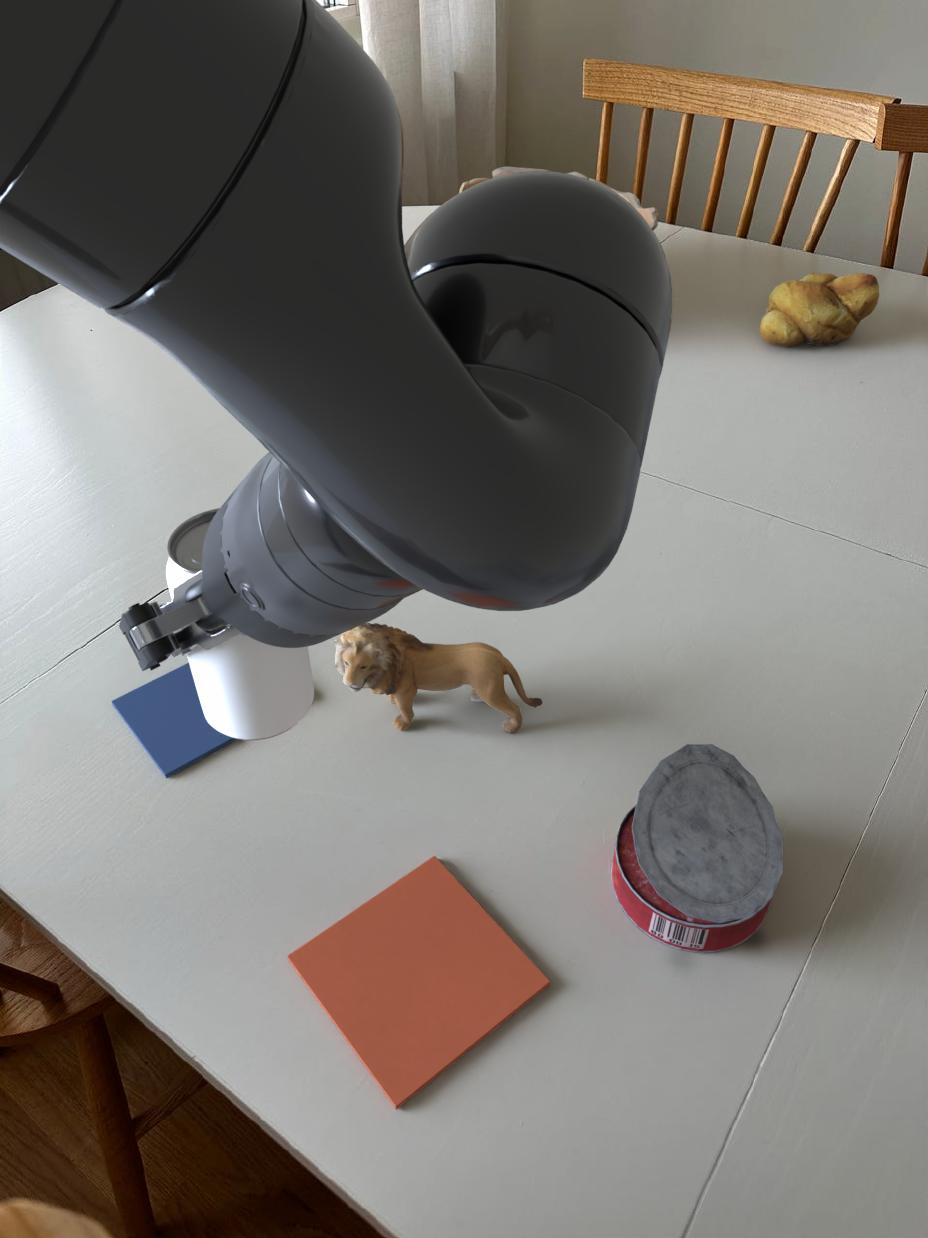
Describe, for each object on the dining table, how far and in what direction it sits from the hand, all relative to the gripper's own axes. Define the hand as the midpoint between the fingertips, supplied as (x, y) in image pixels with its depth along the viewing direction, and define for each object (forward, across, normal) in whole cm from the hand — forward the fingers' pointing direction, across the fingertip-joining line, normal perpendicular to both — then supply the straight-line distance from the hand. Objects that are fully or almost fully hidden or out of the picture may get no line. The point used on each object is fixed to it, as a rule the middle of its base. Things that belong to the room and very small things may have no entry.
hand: (227, 609), depth 54 cm
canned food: (-2, -18, +28) cm, 33 cm away
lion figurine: (+13, -14, +13) cm, 23 cm away
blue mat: (+21, -1, +5) cm, 21 cm away
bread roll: (+27, -83, -2) cm, 88 cm away
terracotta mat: (+2, -1, +24) cm, 24 cm away
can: (+3, 0, +6) cm, 7 cm away
